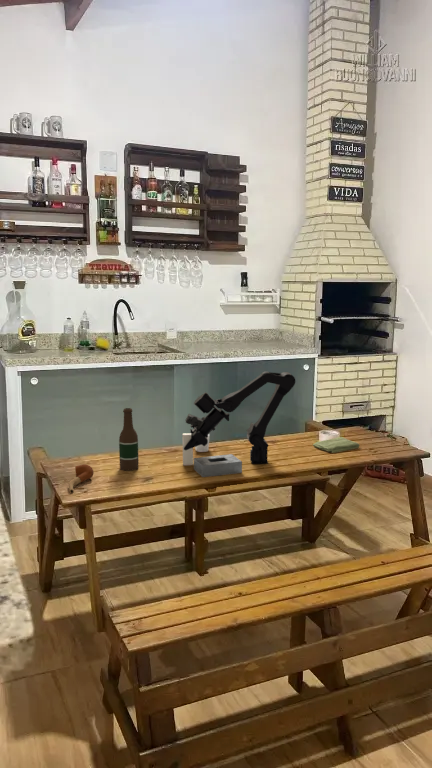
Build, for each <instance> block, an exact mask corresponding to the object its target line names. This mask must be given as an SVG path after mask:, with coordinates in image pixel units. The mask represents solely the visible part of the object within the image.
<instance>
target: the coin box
mask: <svg viewBox="0 0 432 768" xmlns="http://www.w3.org/2000/svg"><path fill="white" fill-rule="evenodd" d="M193 470H194V471H195V472H196V473H197V474H198V475H200V477H201V478H205V477H207V478H208V477H217V476H225V475H235V474H242V473H243V461H242V460H241V459H239V458H238V457H237V456H235V455H234V454H232V453H230V454H219V455H213V456H212V455H211V456H210V455H209V456H201V457H193Z"/></svg>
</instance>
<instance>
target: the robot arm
mask: <svg viewBox="0 0 432 768" xmlns="http://www.w3.org/2000/svg"><path fill="white" fill-rule="evenodd" d="M296 382H297V381H296V377H295V376H294V375H292V374H291V373H290V372H288V371H283V372H271V371H267V370H266V371H263V372H261V374H259V375H258V376H257V377H255V378H253V379H252V380H251V381H249V382H248V383H247V384H245V385H244V386H243V387H241V388H239V389H238V390H235V391H234V392H231V393H228V394H227V395H224V396H223V397H222V398H218V399H213V398H212V397H211V395H209V393H208V392H206V391H205V392H203V394H201V395H199V396H198V397H197V398H196V399H195V400H194V401H193V405H194V406H195V407H196V408H197V409H198V410H199V411H201V413H202V414H207V415H206V416H203V417H201V418H200V417H198V416H195V415H193V414H191V413H188V414H187V416H186V417H185V418H186V419H185V423H186V424H187V425H189V426H190V429H189V430H190V431H189V432H190V433H191V439H190V440H189V442H188V443H187V444H186V446H185V447H184V450H188V449H190V448H193V449H194V448H195V447H196V446H198V445H203V446H205V445H206V444H207V443H208V440H207V437H208V434H210V433H211V432H213V431H215V430H216V427H218V425H219V424H221V422H222V421H223V420H224V419H225V421H227V422H229V421H230V413H232V412H234V411H235V410H236V409H237V408H238V407H239V406H240V405H241V403H242V402H243V401H244V400H245V399H247V398H249V396H251V395H252V394H253V393H256V391H257V390H259V389H261V387H263V386H265V385H266V384H268V383H271V384H275V388H274V392H273V393H272V395H271V396H270V399H269V400H268V402H267V403H266V405H265V407H264V409H263V410H262V413H261V415H260V416H259V418H258V420H257V421H256V422H255V423H253V422H250V425H249V427H248V428H247V429H246V438H247V440H248V442H249V444H251V449H250V450H249V453H250V454H249V457H250V458H249V460H250V462H251V464H253V465H263V464H264V465H265V464H266V465H268V464H269V461H268V448H269V443H268V442H267V440H266V439H265V435H266V432H267V427H268V425H269V424H270V422H271V419H272V418H273V416H274V415H275V413H276V411H277V409H278V408H279V405H280V404H281V403H282V401H283V399H284V397H285V396H286V395H287V394H288V393H290V391H291V390H292V389H293V388H294V386H295V385H296ZM191 428H192V429H191ZM192 433H193V434H192Z"/></svg>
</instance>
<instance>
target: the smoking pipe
mask: <svg viewBox="0 0 432 768" xmlns="http://www.w3.org/2000/svg"><path fill="white" fill-rule="evenodd" d="M74 472H75V477H74V478H73V479H71V480H70V481H69V483H68V490H69V493H70V494H71V493H74V492H75V490H74V486H76V485H79V484H81V483H84V482H85V481H87V480H90V479H92V478H93V476H94V469H93V467H92V466H91V465H89V464H79V465H76V466H75V471H74Z"/></svg>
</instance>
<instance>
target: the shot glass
mask: <svg viewBox="0 0 432 768" xmlns="http://www.w3.org/2000/svg"><path fill="white" fill-rule="evenodd" d="M210 436H211V435H210V433H209V434H208V437H207V440H208V443H207V444H206V445H205V446H203V445H198V446H196V447H194V448H195V451H196V452H199V453H205V452H208V451H209V448H210V446H209V445H210Z"/></svg>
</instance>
